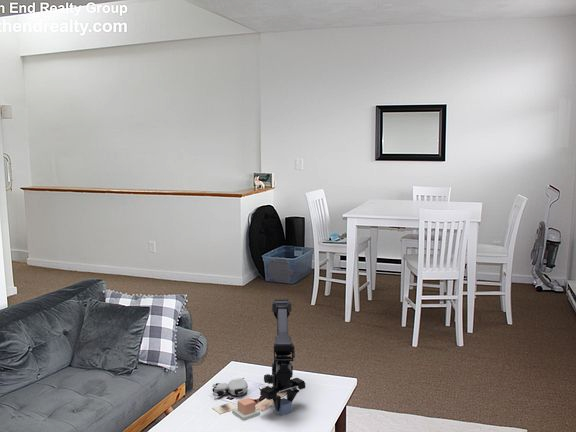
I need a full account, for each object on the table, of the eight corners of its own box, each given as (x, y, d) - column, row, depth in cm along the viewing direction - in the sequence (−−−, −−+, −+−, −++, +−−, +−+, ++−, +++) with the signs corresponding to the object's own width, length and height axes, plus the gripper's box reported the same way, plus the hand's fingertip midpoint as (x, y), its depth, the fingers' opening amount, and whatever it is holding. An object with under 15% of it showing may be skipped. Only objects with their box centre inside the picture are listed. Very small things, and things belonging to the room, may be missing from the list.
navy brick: (283, 407, 233) (283, 397, 232) (291, 411, 229) (291, 402, 228) (274, 410, 229) (274, 401, 229) (282, 415, 226) (282, 405, 225)
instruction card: (231, 402, 237) (231, 401, 236) (239, 407, 232) (239, 407, 232) (212, 408, 231) (212, 407, 231) (219, 414, 226) (219, 413, 226)
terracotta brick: (248, 406, 230) (248, 397, 230) (255, 411, 226) (255, 401, 226) (237, 410, 227) (237, 400, 227) (244, 415, 223) (244, 405, 223)
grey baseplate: (249, 407, 232) (249, 404, 232) (260, 414, 226) (260, 411, 226) (232, 412, 228) (232, 410, 227) (243, 420, 221) (243, 417, 221)
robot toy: (213, 403, 238) (249, 397, 241) (212, 392, 238) (248, 387, 240) (212, 390, 250) (246, 385, 253) (211, 380, 250) (245, 375, 252)
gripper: (289, 359, 239) (289, 395, 241) (252, 370, 228) (252, 407, 230) (306, 368, 230) (306, 405, 232) (268, 379, 219) (268, 418, 221)
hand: (283, 408), depth 229 cm, fingers closed on navy brick, 5 cm apart
